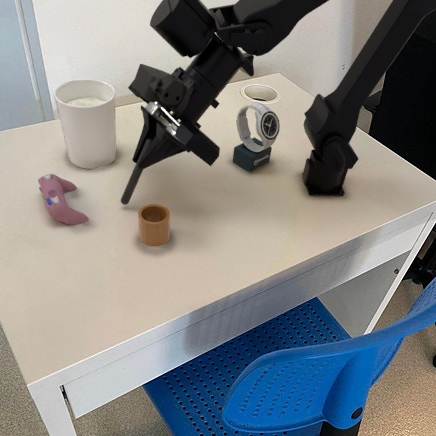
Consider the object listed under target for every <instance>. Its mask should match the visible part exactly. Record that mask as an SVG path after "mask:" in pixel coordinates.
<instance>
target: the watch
mask: <svg viewBox="0 0 436 436" xmlns="http://www.w3.org/2000/svg"><path fill="white" fill-rule="evenodd" d="M248 109H252V110H254V111H255V112H254V116H255V131H256V134H257V136H258V137H259V138H260V139H259V138H257V137H251V135H252V134H251V130H250V127H249V120H248V117H247V111H248ZM235 123H236V129H237V133H238V137H239V139H240V141H241V143H239V144H238V145H236V146H234V147H233V152H232V153H233V154H232V163H233V164H235V165H236V166H238V167H239V168H241V169H243V170H245V171H246V172H248V173H251V172H254V171H255V170H257V169H259V168H262V167H263V166H265V165H266V164H269V163H270V161H271V155H272V148H273V147H272V146H273V145H274V143H275V142H276V140H277V137H278V136H279V133H280V130H281V129H280V128H281V123H280V119H279V117H278V115H277V114H276V113H275V111H272V110H271V108H270V107H269V106H267V105H265V104H264V103H262V102H259V101H258V102H257V101H255V102H252V103H249V104H247V105H244V106H242V107H241V108H240V109H239V110H238V112H237V114H236V121H235Z"/></svg>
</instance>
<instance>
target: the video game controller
mask: <svg viewBox="0 0 436 436" xmlns="http://www.w3.org/2000/svg"><path fill="white" fill-rule="evenodd" d="M37 182H38V184H39V187H38V191H39V192H40V193H41V194H42V196H43V197H44V199H45V201H44V206H45V208H46V211H47V212H48V213H49V214H50V216H51V218H53V219H54V220H55V221H56V222H61V223H63V224H66V225H70V226H76V225H81V224H85V223H86V222H89V220H90V218H89V217H88V216H87V214H85V213H83V212H81V211H78V210H76V209H74V208H73V207H70V206H69V205H68V204H67V201H66V198H65V196H64V194H65V193H69V192H73V191H76V190H77V189H78V187H77V185H75V184H74V182H72V181H69V180H66V179H64V178H61V177H60V176H57V174H54V173H48V174H44V175H43V176H41V177H38V179H37Z"/></svg>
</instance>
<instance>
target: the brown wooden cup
mask: <svg viewBox="0 0 436 436" xmlns="http://www.w3.org/2000/svg"><path fill="white" fill-rule="evenodd" d="M137 219H138V237H139V240H140V242H141V243H142V244H143V245H145V246H148V247H153V248H154V247H161V246H164V245H166V244H167V243H168V242H169V240H170V237H171V220H170V219H171V213H170V210H169V209H168V208H167V207H166V206H164V205H162V204H158V203H151V204H147V205H143V206H142V207H141V208H140V209H139V210H138V212H137Z"/></svg>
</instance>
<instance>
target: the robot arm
mask: <svg viewBox="0 0 436 436" xmlns="http://www.w3.org/2000/svg"><path fill="white" fill-rule="evenodd" d="M329 1H330V0H237V2H236V3H233V4H227V5H221V6H215V7H209V8H208V7H207V6H206V5H205V4H204V2H203V1H201V0H162V1H161V2H160V3H159V5H158V6H157V7H156V8H155V10H154V11H153V14H152V15H151V18H150V21H149V26H150V27H151V28H152V30H153V31H155V32H156V33H157V34H158V35H159V36H160V37H161V38H162V39H163V40H164V41H165V42H166V43H167V44H168V45H169V46H170V47H171V48H172V49H174V51H175V52H176V53H177V54H178V55H179V56H180V57H182V58H186V57H188V58H189V59H192V58H193V57H194V58H193V60H192V61H191V62H190V63H189V65H188V66H187V67H186V69H184V68H183V67H181V66H179V67H176V68H175V69H174V70H173V72H172V73H169V72H166V71H164V70H162V69H159V68H155V67H153V66H151V65H146V64H144V63H140V64H139V65H138V68H137V72H136V74H135V76H134V79H133V80H132V82H131V83H130V84H129V86H128V87H127V89H128V90H129V91H130V92H131V93H132V94H133V95H134V96H136V97H137V98H140V99H141V100H142V101H143V102H144V103H146V106H145V107H144V106H143V105H142V104H141V105H140V110H141V112H142V117H143V126H142V130H141V133H140V136H139V138H138V142H137V144H136V147H135V150H134V153H133V156H132V159H131V160H132V162H133V163H135V164H136V163H137V161H138V158H139V156H140V154H141V151H142V149H143V147H144V145H145V142H146V140H147V139H152V140H153V141H152V143H151V144H150V145H149V147H148V148H147V150H146V151H145V153H144V154H143V156H142V157H141V159H140V160H139V162H138V164H137V166H138V167H139V168H140V169H143V170H144V169H147V168H149V167H151V166H154V165H156V164H157V163H159V162H162V161H164V160H166V159H168V158H170V157H174V156H177V155H179V154H182V153H184V152H186V153H187V154H189V153H192V154H194V155H195V156H196V157H198V158H199V159H200V160H201V161H203V162H204V163H206V164H207V166H210V167H212V165H213V164H214V163H215V162H216V161H217V160H218V158H219V157H220V153H221V147H220V146H219V145H218V144H217V143H215V142H214V140H212V139H211V137H209V136H208V135H207V134H206V133H205V132H203V131H202V130H201V128H202V125H201V124H200V123H199V120H200V119H201V117H202V116H204V114H205V113H206V111H208V109H209V108H210V107H212V108H213V109H214V110H216V109H217V108H218V106H219V105H220V102H219V101H218V100H217V98H218V96H219V95H220V94H221V93H222V92H223V91H224V89H225V88H226V87H227V86H228V84H229V83H230V82H231V81H232V79H233V78H234V77H235V76H236V74H237V73H238V72H239V71H240V72H242V73H243V74H245V75H247V76H249V77H253V76H254V75H255V67H254V59H255V57H262V56H264V55H266V54H269V53H270V52H271V51H273V50H274V49H275V48H276V47H277V46H278V45H279V44H281V43H282V42H283V41H284V40H285V39H286V38H287V37H288V36H290V34H291V33H292V31H293V30H294V29H295V27H296V26H297V25H298V23H299V22H300V21H301V20H302V19H304V17H306V16H307V15H308V14H310V13H312V12H313V11H315V10H316V9H318V8H319V7H320V8H321V6H323V5H325V4H326V3H327V2H329ZM434 11H436V0H392V1H391V2H390V4H389V5H388V7H387V9H386V11H385V12H384V13H383V15H382V17H380V20H379V22H378V23H377V25H376V26H375V27H374V29H373V31H372V32H371V34H370V35H369V37H368V39H367V40H366V42H365V43H364V44H363V46H362V47H361V50H360V51H359V53H358V54H357V56H356V57H355V59H354V60H353V62H352V63H351V65H350V67H349V68H348V69H347V71H346V73H345V75H344V76H343V77H342V79H341V81H340V83H339V84H338V85H337V87H336V89H334V90H333V91H332V92H331V93H329V94H327V95H325V96H324V95H322V94H321V93H317V94H316V96H315V97H314V99H313V101H312V104H311V105H310V107H309V108H308V109H307V110H306V111H305V112H304V113H303V115H304V117H305V118H304V121H303V130H304V132H305V134H306V136H307V139H308V140H309V143H310V144H311V146H312V148H313V149H311V151H310V154H309V157H307V158H306V159H305V162H304V163H305V164H304V168H303V172H302V173H301V179H302V183H303V185H304V186H305V189H306V191H307V193H308V195H309V196H315V197H316V196H317V197H322V196H324V197H326V196H327V197H343V196H345V193H346V191H345V190H344V187H343V186H344V185H345V181H346V178H347V174H348V172H349V170H352V169H353V168H354V167H355V165H356V164H357V162H358V161H359V157H358V155H357V154H356V152H355V150H354V149H353V147H352V146H351V141H352V139H353V137H354V135H355V132H356V131H357V126H358V123H359V122H358V121H359V117H360V113H361V110H362V107H363V106H364V104H365V103H366V102H367V100H368V99H369V97H370V96H371V95H372V93H373V91H374V90H375V88H376V87H377V85H378V84H379V83H380V81H381V80H382V78H383V77H384V75H385V74H386V72H387V71H388V69H389V68H390V67H391V65H392V64H393V62H394V61H395V59H397V57H398V55H399V54H400V52H401V51H402V49H403V48H404V46H406V44H407V42H408V40H410V38H411V36H412V35H413V33H414V32H415V30H416V29H417V28H418V26H419V25H420V23H421V22H422V20H423V19H424V18H425V17H426V16H428V15H429V14H431V13H432V12H434ZM171 112H172V113H171Z"/></svg>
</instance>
